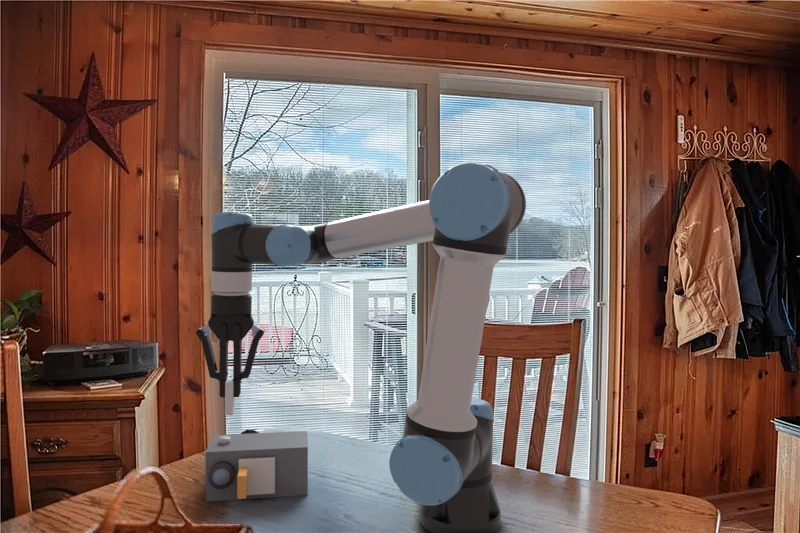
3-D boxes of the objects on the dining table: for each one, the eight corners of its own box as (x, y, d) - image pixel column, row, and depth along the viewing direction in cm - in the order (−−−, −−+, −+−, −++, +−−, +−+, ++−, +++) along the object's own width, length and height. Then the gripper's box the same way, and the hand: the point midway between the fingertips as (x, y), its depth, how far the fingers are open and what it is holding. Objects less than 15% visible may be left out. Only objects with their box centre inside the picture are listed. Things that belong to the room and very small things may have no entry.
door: (273, 503, 111) (273, 467, 111) (236, 505, 110) (236, 469, 110) (275, 490, 117) (275, 456, 116) (239, 493, 116) (239, 458, 115)
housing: (307, 498, 117) (307, 445, 116) (204, 505, 113) (204, 450, 113) (307, 475, 128) (307, 426, 128) (213, 480, 125) (213, 430, 124)
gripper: (267, 291, 116) (265, 407, 118) (200, 290, 114) (198, 407, 116) (264, 295, 109) (262, 418, 110) (192, 294, 107) (190, 420, 108)
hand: (229, 413), depth 113 cm, fingers closed
